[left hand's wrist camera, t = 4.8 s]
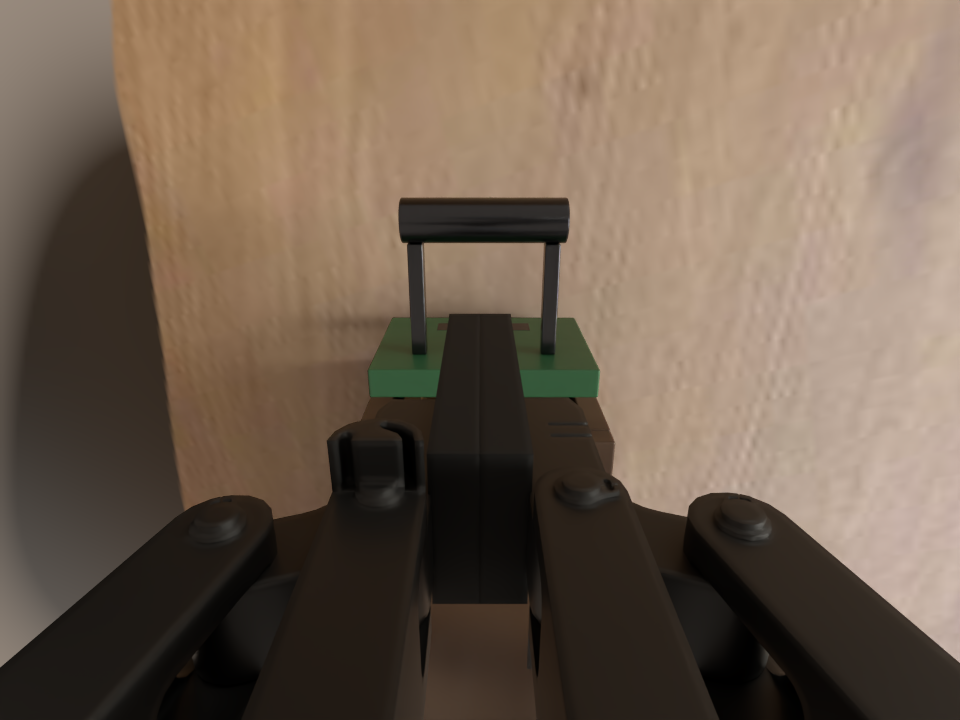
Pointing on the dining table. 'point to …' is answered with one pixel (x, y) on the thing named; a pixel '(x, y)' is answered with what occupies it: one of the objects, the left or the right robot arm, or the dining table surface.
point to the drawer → (539, 341)
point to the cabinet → (488, 633)
